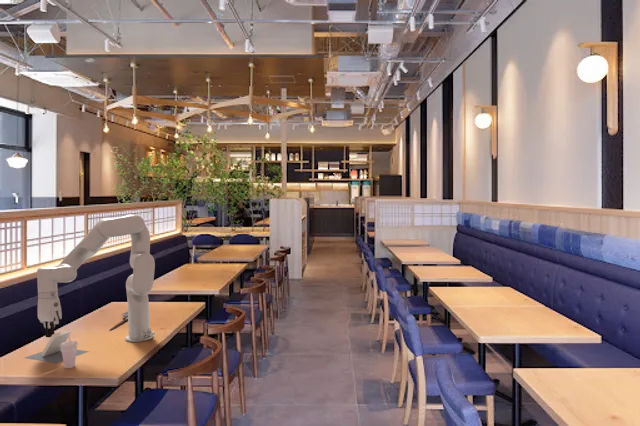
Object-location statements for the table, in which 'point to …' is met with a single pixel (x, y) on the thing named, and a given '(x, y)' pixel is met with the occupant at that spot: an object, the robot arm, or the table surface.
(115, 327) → the spoon
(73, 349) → the smoothie
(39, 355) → the mat
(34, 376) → the table surface
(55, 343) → the tile
